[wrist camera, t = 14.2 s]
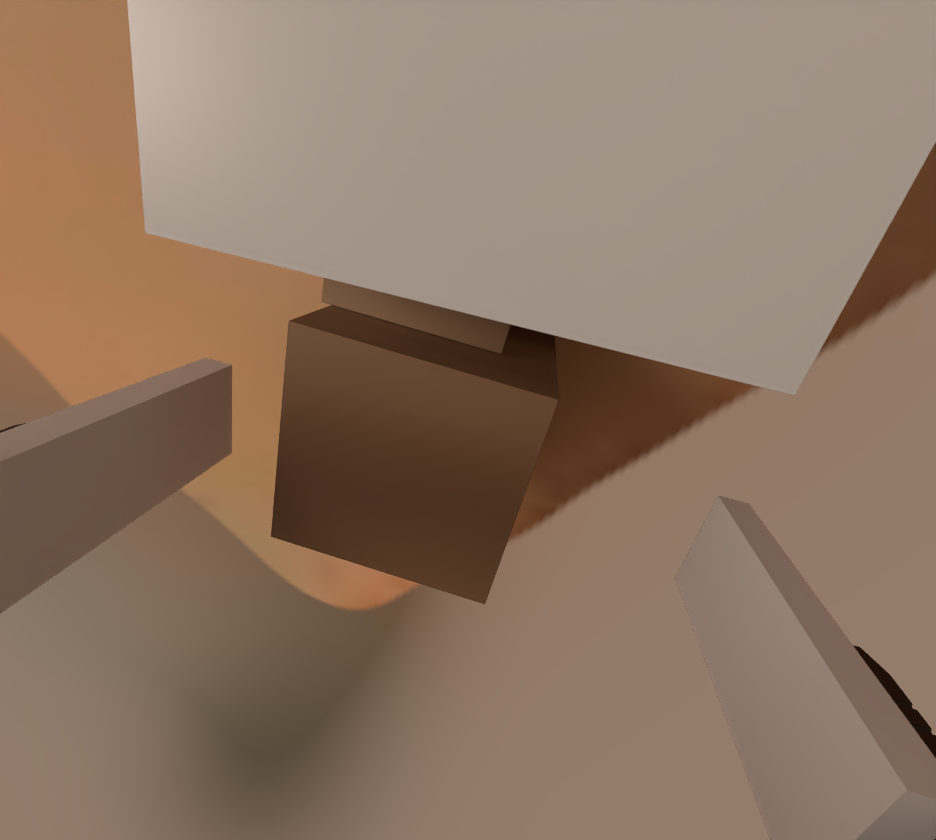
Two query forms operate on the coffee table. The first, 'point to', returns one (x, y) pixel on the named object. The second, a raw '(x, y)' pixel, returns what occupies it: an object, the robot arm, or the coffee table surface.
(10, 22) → the coffee table surface
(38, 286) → the coffee table surface
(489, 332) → the rod
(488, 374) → the block
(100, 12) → the coffee table surface
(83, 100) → the coffee table surface
